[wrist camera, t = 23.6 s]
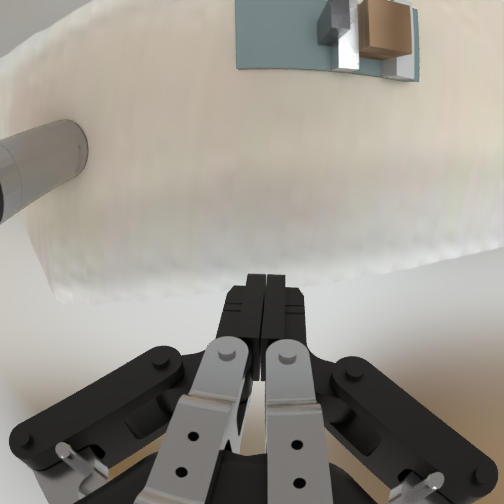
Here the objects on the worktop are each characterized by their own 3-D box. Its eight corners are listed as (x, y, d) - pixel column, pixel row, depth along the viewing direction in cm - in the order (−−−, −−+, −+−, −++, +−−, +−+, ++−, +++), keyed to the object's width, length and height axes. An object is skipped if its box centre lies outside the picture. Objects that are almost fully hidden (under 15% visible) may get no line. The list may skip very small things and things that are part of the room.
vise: (238, 69, 31) (229, 65, 25) (236, 2, 26) (227, -14, 21) (404, 81, 29) (426, 81, 23) (403, 16, 25) (424, 5, 19)
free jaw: (317, 69, 29) (332, 60, 20) (316, -1, 24) (328, -33, 15) (348, 72, 28) (374, 66, 19) (347, 2, 24) (370, -27, 15)
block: (348, 55, 27) (369, 45, 20) (347, 17, 25) (367, -4, 17) (381, 60, 27) (412, 54, 19) (381, 22, 25) (409, 5, 17)
